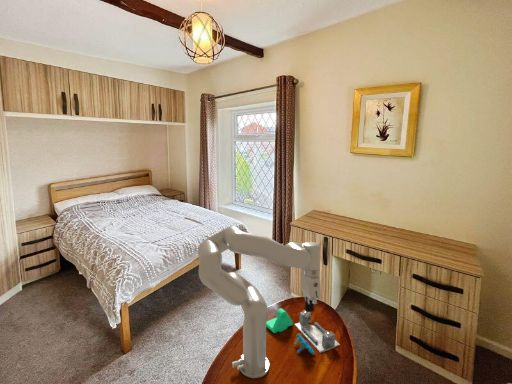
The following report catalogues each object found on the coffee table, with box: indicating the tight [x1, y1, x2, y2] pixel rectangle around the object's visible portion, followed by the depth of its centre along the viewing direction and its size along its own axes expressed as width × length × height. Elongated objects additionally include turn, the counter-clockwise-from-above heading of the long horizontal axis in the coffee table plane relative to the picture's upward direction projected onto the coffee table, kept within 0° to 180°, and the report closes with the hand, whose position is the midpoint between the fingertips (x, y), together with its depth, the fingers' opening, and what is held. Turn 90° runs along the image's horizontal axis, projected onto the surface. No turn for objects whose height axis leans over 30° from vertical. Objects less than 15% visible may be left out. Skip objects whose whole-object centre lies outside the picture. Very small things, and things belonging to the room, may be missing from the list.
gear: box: [293, 333, 315, 355], centre depth 117 cm, size 11×6×10 cm
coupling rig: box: [294, 309, 340, 354], centre depth 128 cm, size 11×21×7 cm, turn 24°
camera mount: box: [266, 308, 294, 334], centre depth 134 cm, size 12×8×10 cm, turn 124°
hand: (309, 310), depth 116 cm, fingers closed
